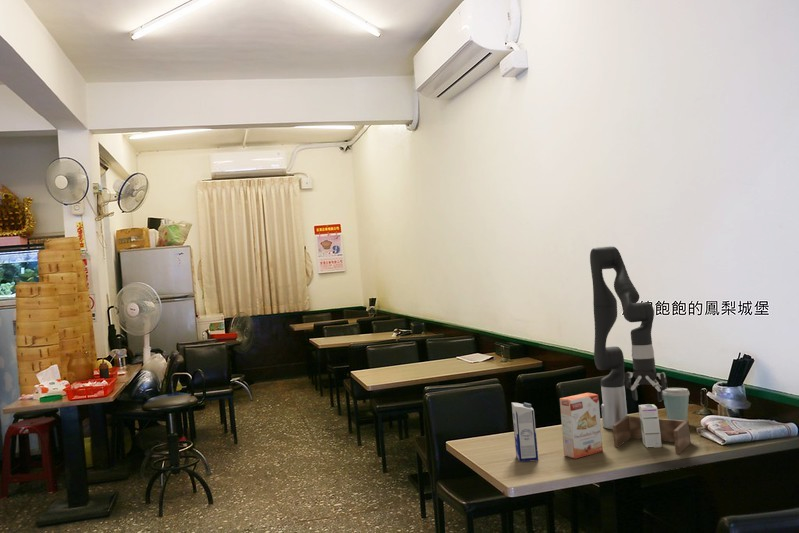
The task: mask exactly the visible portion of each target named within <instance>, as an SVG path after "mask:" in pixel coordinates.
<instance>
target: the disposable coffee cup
mask: <svg viewBox="0 0 799 533" xmlns="http://www.w3.org/2000/svg"><path fill="white" fill-rule="evenodd" d="M690 395H691V394H690V391H689V389H688V388H684V387H668V388H667V389H665V390H663V400H662V401H663V404H664V407H665V408H664V409H665V413H666V419H671V420H684V421H688V411H689V399H690V398H689V397H690Z"/></svg>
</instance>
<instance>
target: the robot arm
mask: <svg viewBox="0 0 799 533" xmlns="http://www.w3.org/2000/svg"><path fill="white" fill-rule="evenodd" d="M589 265H590V272H591V279H592V292H593V293H592V294H593V296H592V297H593V300H592V304H593V318H594V319H593V320H594V346H593V359H594V360H593V361H594V364H595V367H596V369H597V370H599V371H608V370H609V371H610V372H609V374H606V376H603V377H602V378H601V379H600V387H601V388H600V389H601V390H600V391H601V398H602V403H601V405H600V408H601V409H600V410H601V420H602V427H603V428H606V429H608V430H613V425H614V424H615V423H617V422H618V421H620V420H621V419H623V418H624V417H626V416H628V408H627V400H626V399H627V398H626V397H627V396H626V389H629V390H630V391H631V398H632V400H633V401H635V402H636V401H638V400H639V399H638V398H639V397H638V390H637V388H638V386H640V385H647V386H649V385H652V387H654V388H655V389H656V390H657V391H656V393H657V394H656V395H657V402H658V403H660V402H662V401H664V400H663V390H665V389H667V388H669V387H668V380H667V375H666V372H664V371H663V372H657V371H656V360H655V352H654V347H653V338H652V329H653V323H654V317H655V310H654V307H653V306H652V304H651V303H650V302H647V301H643V302H639V301H640V294H639V292H638V290H637V288H636V287H635V285H634V284H633V282H632V281H631V278H630V276H629V273H628V271H627V267H626V265H625V263H624V260H623V258H622V255H621V252H620V250H619V249H618V248H617V247H616V246H613V245H612V246H611V245H609V246H599V247H597V246H596V247H592V249H591V250H590V253H589ZM610 269H613V270H614V271H615V278H614V282H613V287H614V292H615V294H616V295H617V297H618V299H619V300H620V304H621V308H622V315H623V318H624V319H625V320H626V321H627V322H629V323H640V326H638V327H635V328H633V329H631V331H630V340H631V357H632V367H633V372H631V371H627V372H625V358H624V353H623V351H622V348H621V347H619V346H607V339H608V336H609V334H610V332H611V330H612V328H613V327H614V325H615V323H616V321H617V319H618V301H617V299H616V296H615V294H614V293H613V292H612V290H611V289H610V287H609V286H608V285H607V283H606V281H605V278H604V274H603V270H610ZM633 377H634V379H635V381H634V383H633V384H632V378H633ZM657 377H658V379H659V380H660V382H659V381H658V380H657ZM659 383H660V384H661V385H660V384H659Z"/></svg>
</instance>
